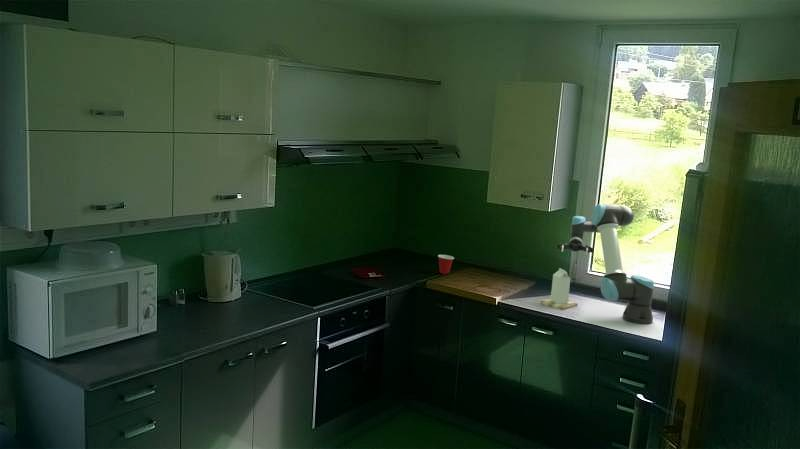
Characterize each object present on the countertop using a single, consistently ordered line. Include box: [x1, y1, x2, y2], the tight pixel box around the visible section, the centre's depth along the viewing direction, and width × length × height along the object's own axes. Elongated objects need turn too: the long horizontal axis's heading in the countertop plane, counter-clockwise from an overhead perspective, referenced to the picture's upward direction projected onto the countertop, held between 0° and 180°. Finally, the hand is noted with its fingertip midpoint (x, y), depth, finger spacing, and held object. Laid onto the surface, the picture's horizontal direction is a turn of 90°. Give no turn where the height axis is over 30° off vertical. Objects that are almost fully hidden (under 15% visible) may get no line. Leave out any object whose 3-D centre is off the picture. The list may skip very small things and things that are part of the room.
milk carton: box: [550, 267, 571, 304], centre depth 355 cm, size 7×7×19 cm
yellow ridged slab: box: [540, 297, 578, 311], centre depth 357 cm, size 15×14×2 cm
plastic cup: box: [437, 254, 455, 275], centre depth 412 cm, size 11×11×12 cm
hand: (574, 250), depth 360 cm, fingers open, 13 cm apart
